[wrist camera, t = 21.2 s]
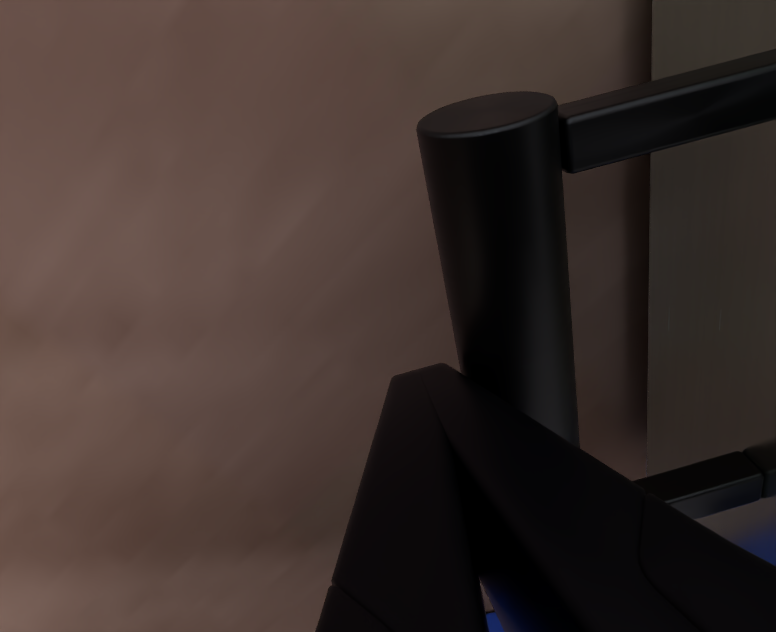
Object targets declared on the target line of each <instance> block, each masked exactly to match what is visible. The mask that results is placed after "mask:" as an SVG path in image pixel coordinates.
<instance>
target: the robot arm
mask: <svg viewBox="0 0 776 632" xmlns="http://www.w3.org/2000/svg"><path fill="white" fill-rule="evenodd" d="M479 578H480V580H481V582H482V584H483V587H484V589H485V591H486V593H487V595H488V597H489V600H490V602H491V604H492V606H493V608H494V610H495V613H496V615H497V617H498V619H499V621H500V623H501V626H502V628H503V630H504V632H776V566H775V565H773V564H771V563H769V562H768V561H766V560H764V559H762V558H760V557H758V556H756V555H755V554H753V553H751V552H749V551H747V550H745V549H743V548H741V547H740V546H738V545H736V544H734V543H732V542H730V541H729V540H727V539H725V538H724V537H722V536H720V535H719V534H717V533H715V532H714V531H712V530H710V529H709V528H707V527H705V526H704V525H702V524H700V523H699V522H697V521H695V520H694V519H692V518H690V517H689V516H687V515H685V514H684V513H682V512H680V511H679V510H677V509H675V508H674V507H672V506H671V505H669V504H668V503H666V502H664V501H663V500H661V499H660V498H658V497H656V496H655V495H653V494H651V493H648V494H646V495H645V490H644V489H643V488H642V487H640V486H638V485H637V484H635V483H634V482H632V481H631V480H629V479H627V478H626V477H624V476H623V475H621V474H619V473H618V472H616V471H615V470H613V469H612V468H610V467H608V466H607V465H605V464H604V463H602V462H600V461H599V460H597V459H596V458H594V457H593V456H591V455H589V454H588V453H586V452H585V451H583V450H582V449H580V448H578V447H577V446H575V445H574V444H572V443H570V442H569V441H567V440H566V439H564V438H563V437H561V436H559V435H558V434H556V433H555V432H553V431H551V430H550V429H548V428H547V427H545V426H544V425H542V424H540V423H539V422H537V421H536V420H534V419H532V418H531V417H529V416H528V415H526V414H525V413H523V412H521V411H520V410H518V409H517V408H515V407H513V406H512V405H510V404H509V403H507V402H506V401H504V400H502V399H501V398H499V397H498V396H496V395H494V394H493V393H491V392H490V391H488V390H487V389H485V388H483V387H482V386H480V385H479V384H477V383H475V382H474V381H472V380H471V379H469V378H468V377H466V376H464V375H463V374H461V373H460V372H458V371H456V370H455V369H453V368H452V367H450V366H449V365H447V364H444V363H439V364H435V365H432V366H428V367H424V368H421V369H418V370H414V371H410V372H406V373H403V374H399V375H396V376H394V377H393V378H392V379H391V382H390V385H389V388H388V392H387V395H386V398H385V402H384V405H383V408H382V412H381V415H380V419H379V422H378V425H377V429H376V432H375V435H374V439H373V442H372V445H371V449H370V452H369V455H368V459H367V462H366V466H365V469H364V472H363V476H362V479H361V482H360V486H359V489H358V492H357V496H356V499H355V503H354V506H353V509H352V513H351V516H350V519H349V523H348V526H347V529H346V533H345V536H344V539H343V543H342V546H341V550H340V553H339V556H338V560H337V563H336V566H335V570H334V573H333V576H332V580H331V582H332V586H330V587H329V589H328V592H327V595H326V599H325V602H324V605H323V609H322V612H321V616H320V619H319V622H318V625H317V628H316V631H315V632H489V627H488V622H487V617H486V612H485V606H484V601H483V596H482V591H481V586H480V580H479Z"/></svg>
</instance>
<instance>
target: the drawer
mask: <svg viewBox="0 0 776 632" xmlns="http://www.w3.org/2000/svg"><path fill="white" fill-rule="evenodd" d="M417 136H418V141H419V147H420V152H421V158H422V163H423V168H424V174H425V179H426V185H427V190H428V196H429V201H430V206H431V212H432V217H433V223H434V228H435V234H436V239H437V244H438V250H439V255H440V261H441V266H442V272H443V277H444V282H445V288H446V293H447V299H448V304H449V310H450V315H451V320H452V326H453V331H454V337H455V342H456V348H457V353H458V358H459V364H460V369H461V374H463V375H464V376H466V377H468V378H469V379H471V380H472V381H474V382H475V383H477V384H479V385H480V386H482V387H483V388H485V389H487V390H488V391H490V392H491V393H493V394H494V395H496V396H498V397H499V398H501V399H502V400H504V401H506V402H507V403H509V404H510V405H512V406H513V407H515V408H517V409H518V410H520V411H521V412H523V413H525V414H526V415H528V416H529V417H531V418H532V419H534V420H536V421H537V422H539V423H540V424H542V425H544V426H545V427H547V428H548V429H550V430H551V431H553V432H555V433H556V434H558V435H559V436H561V437H563V438H564V439H566V440H567V441H569V442H570V443H572V444H574V445H575V446H577V447H578V448H580V443H579V428H578V412H577V397H576V381H575V366H574V350H573V335H572V319H571V304H570V288H569V273H568V257H567V242H566V226H565V211H564V195H563V180H562V170H563V171H565V172H567V173H570V174H574V173H577V172H581V171H585V170H589V169H592V168H596V167H600V166H604V165H607V164H611V163H615V162H619V161H622V160H626V159H630V158H634V157H637V156H641V155H645V154H649V153H650V229H649V312H648V394H647V477H645V478H642V479H639V480H635V481H632V482H634V483H635V484H637V485H638V486H640V487H642V488H643V489H644V490H645V495H646V494H648V493H651V494H653V495H655V496H656V497H658V498H660V499H661V500H663V501H664V502H666V503H668V504H669V505H671V506H672V507H674V508H675V509H677V510H679V511H680V512H682V513H684V514H685V515H687V516H689V517H690V518H692V519H694V520H695V521H697V522H699V523H700V524H702V525H704V526H705V527H707V528H709V529H710V530H712V531H714V532H715V533H717V534H719V535H720V536H722V537H724V538H725V539H727V540H729V541H730V542H732V543H734V544H736V545H738V546H740V547H741V548H743V549H745V550H747V551H749V552H751V553H753V554H755V555H756V556H758V557H760V558H762V559H764V560H766V561H768V562H769V563H771V564H773V565H775V566H776V0H652V63H651V81H650V82H646V83H642V84H639V85H635V86H631V87H627V88H623V89H620V90H616V91H612V92H608V93H604V94H600V95H597V96H593V97H589V98H585V99H581V100H577V101H574V102H570V103H566V104H562V105H558V104H557V102H556V100H555V98H554V97H552V96H551V95H548V94H544V93H538V92H506V93H497V94H490V95H485V96H480V97H475V98H471V99H467V100H463V101H459V102H456V103H453V104H450V105H447V106H444V107H442V108H440V109H437V110H435V111H433V112H432V113H430V114H428V115H426V116H425V117H423V118H422V119H421V120H420V121H419V122H418V125H417Z"/></svg>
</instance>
